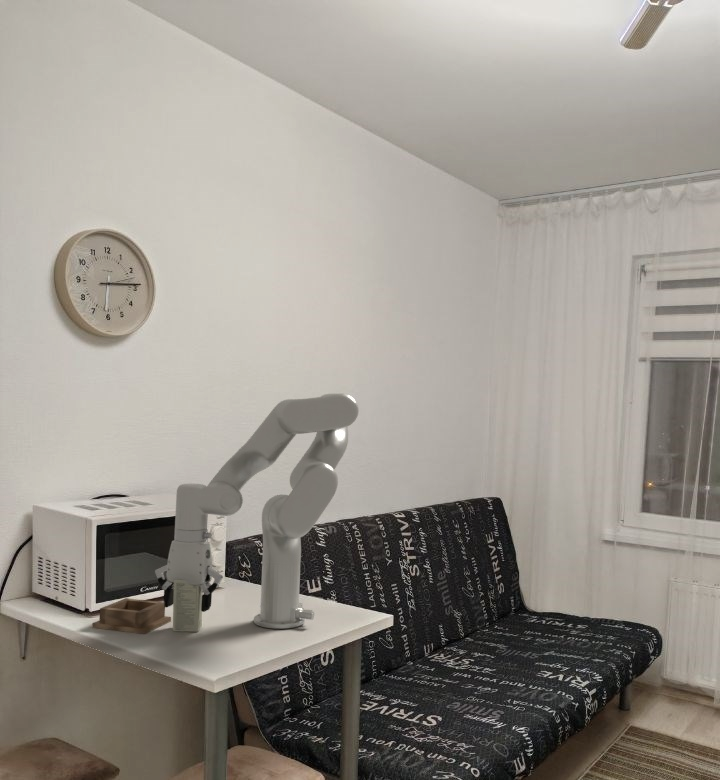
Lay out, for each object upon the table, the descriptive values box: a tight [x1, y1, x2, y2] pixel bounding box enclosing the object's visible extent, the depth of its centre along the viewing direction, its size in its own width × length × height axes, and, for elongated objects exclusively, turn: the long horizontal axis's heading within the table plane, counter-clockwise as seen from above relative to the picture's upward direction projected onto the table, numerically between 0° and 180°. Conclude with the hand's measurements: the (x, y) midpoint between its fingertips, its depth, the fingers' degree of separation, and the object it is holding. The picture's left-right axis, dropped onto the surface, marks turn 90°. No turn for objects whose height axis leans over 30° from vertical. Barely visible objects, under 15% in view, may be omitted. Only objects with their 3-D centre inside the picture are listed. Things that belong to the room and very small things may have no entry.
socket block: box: [91, 597, 172, 635], centre depth 187 cm, size 14×12×4 cm
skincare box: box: [172, 580, 203, 633], centre depth 184 cm, size 6×4×12 cm
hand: (187, 608), depth 184 cm, fingers open, 9 cm apart
